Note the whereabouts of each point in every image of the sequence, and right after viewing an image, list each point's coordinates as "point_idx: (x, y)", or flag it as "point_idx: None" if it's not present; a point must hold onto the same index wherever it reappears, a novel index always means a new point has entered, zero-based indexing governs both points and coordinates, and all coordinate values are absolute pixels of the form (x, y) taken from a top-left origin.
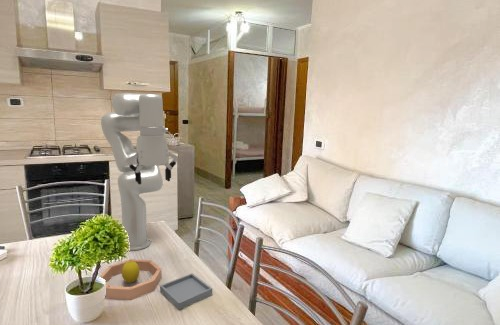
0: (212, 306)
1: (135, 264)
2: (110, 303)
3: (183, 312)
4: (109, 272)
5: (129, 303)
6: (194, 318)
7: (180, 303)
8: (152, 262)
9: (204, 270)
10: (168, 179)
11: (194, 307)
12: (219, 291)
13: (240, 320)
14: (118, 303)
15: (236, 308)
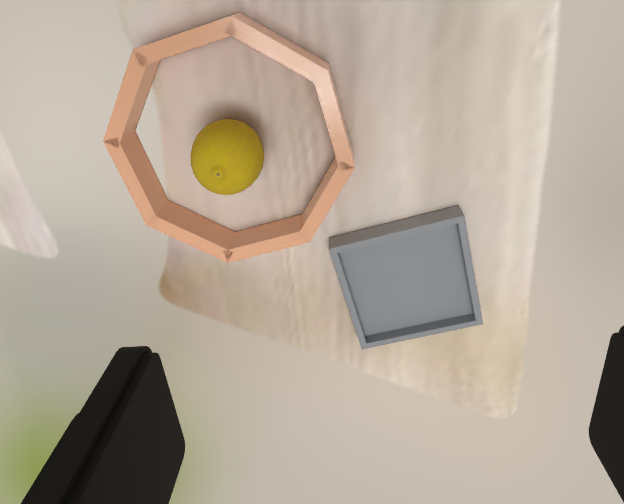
0: (450, 353)
1: (242, 182)
2: None
3: None
4: (142, 85)
5: None
6: (387, 374)
7: (366, 347)
8: (329, 94)
9: (532, 164)
10: (609, 463)
11: None
12: (506, 304)
13: (486, 415)
14: None
15: (504, 380)
